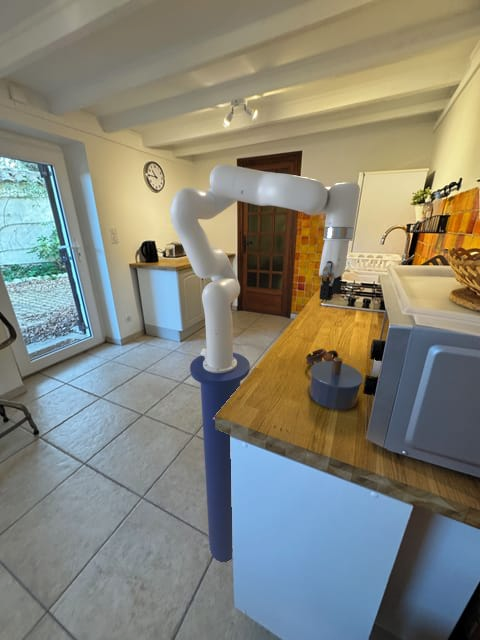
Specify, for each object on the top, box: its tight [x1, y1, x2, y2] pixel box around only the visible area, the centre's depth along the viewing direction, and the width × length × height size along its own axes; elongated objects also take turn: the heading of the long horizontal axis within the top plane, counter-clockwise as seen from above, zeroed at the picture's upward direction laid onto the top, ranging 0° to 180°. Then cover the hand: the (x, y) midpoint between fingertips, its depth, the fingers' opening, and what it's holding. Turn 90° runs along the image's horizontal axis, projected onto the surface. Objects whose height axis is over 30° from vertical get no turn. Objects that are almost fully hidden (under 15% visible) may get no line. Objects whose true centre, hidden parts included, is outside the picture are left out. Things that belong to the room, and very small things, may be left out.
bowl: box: [309, 374, 361, 411], centre depth 74 cm, size 13×13×7 cm
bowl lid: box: [309, 356, 364, 389], centre depth 72 cm, size 14×14×6 cm
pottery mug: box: [305, 348, 339, 367], centre depth 90 cm, size 12×9×8 cm
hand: (330, 296), depth 74 cm, fingers open, 9 cm apart
